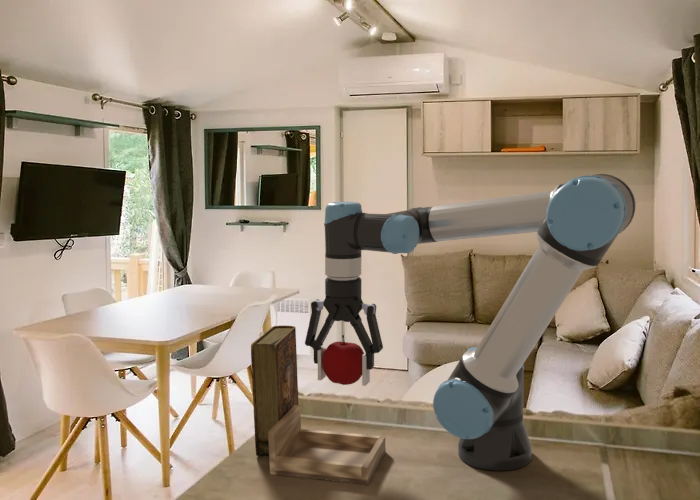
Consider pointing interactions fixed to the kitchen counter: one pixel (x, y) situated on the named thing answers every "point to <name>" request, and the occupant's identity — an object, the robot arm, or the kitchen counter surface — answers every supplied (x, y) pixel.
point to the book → (273, 380)
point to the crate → (322, 452)
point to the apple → (343, 362)
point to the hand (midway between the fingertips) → (343, 380)
